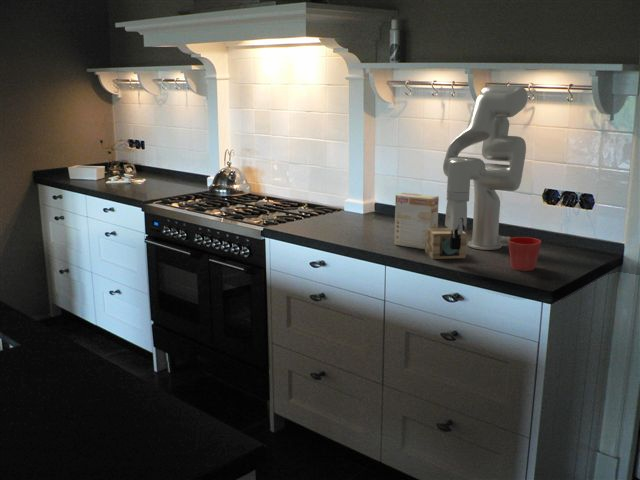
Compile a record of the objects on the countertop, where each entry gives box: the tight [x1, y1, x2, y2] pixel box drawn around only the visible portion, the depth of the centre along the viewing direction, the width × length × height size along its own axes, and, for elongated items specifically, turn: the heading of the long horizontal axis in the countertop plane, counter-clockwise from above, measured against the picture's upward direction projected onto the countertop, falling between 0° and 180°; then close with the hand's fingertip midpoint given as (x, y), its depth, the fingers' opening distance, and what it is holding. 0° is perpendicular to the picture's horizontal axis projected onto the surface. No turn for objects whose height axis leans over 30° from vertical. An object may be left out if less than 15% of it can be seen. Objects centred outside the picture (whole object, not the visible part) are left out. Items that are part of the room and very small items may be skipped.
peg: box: [442, 239, 457, 254], centre depth 256 cm, size 11×6×6 cm, turn 8°
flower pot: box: [507, 236, 542, 272], centre depth 240 cm, size 11×11×10 cm
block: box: [424, 227, 468, 260], centre depth 256 cm, size 10×12×9 cm
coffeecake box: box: [393, 192, 440, 250], centre depth 269 cm, size 15×7×20 cm, turn 56°
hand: (455, 248), depth 245 cm, fingers closed
